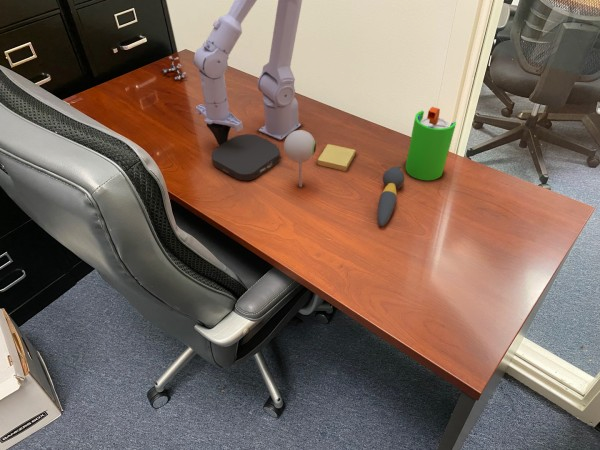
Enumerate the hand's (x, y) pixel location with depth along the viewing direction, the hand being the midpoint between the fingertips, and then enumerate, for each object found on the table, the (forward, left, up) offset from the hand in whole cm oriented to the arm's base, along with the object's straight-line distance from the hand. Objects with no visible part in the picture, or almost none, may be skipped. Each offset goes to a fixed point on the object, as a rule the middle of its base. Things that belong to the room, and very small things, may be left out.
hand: (223, 145), depth 116 cm
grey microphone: (-8, +46, -2) cm, 46 cm away
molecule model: (-21, -43, -2) cm, 48 cm away
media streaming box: (0, +8, -2) cm, 8 cm away
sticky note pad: (-14, +27, -1) cm, 30 cm away
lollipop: (0, +26, -2) cm, 26 cm away
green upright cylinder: (-23, +47, -2) cm, 52 cm away
